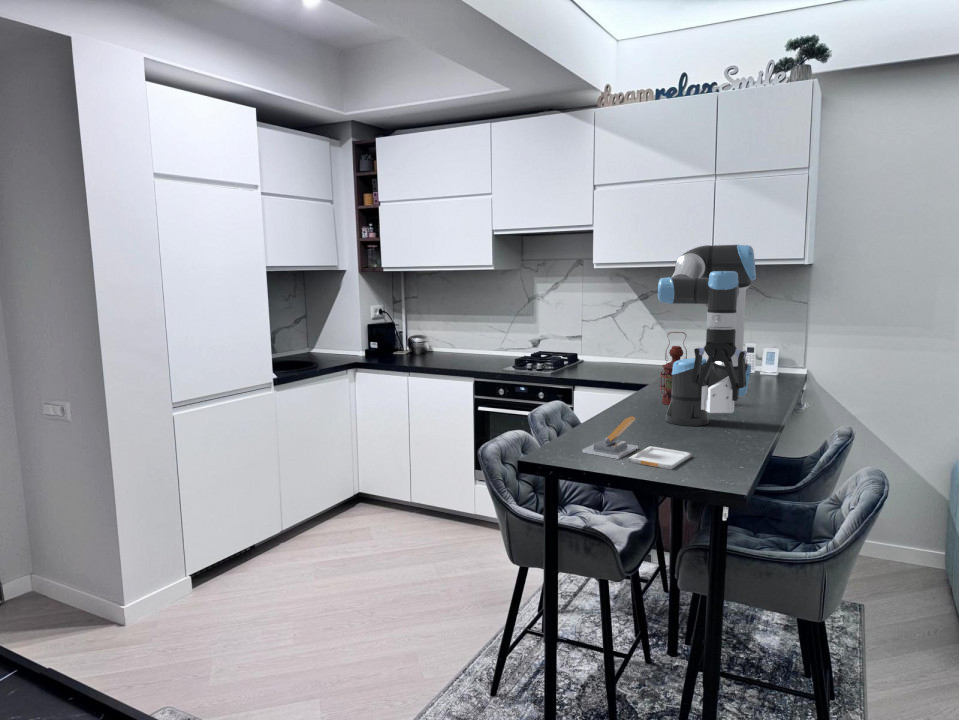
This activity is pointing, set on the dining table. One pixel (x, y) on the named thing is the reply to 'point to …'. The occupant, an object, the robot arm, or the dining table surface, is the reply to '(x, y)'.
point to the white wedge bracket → (718, 397)
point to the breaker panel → (610, 449)
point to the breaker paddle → (619, 430)
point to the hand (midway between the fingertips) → (717, 410)
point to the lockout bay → (660, 457)
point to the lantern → (670, 370)
